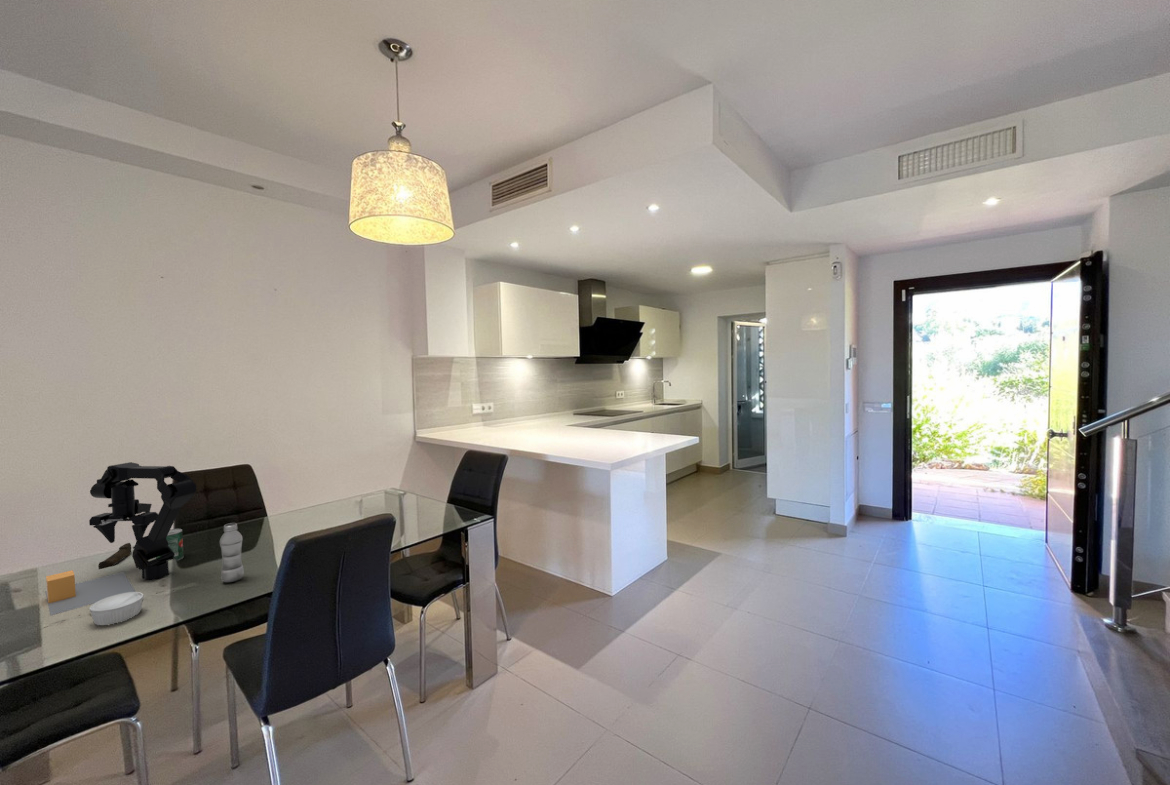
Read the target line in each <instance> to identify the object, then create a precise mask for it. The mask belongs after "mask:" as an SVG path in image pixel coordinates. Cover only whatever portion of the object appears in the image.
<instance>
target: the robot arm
mask: <svg viewBox="0 0 1170 785" xmlns="http://www.w3.org/2000/svg"><path fill="white" fill-rule="evenodd" d="M168 478H170V479H172V480H174V481H176V482H172V483H168V484H167V483H166V482H165V479H168ZM134 479H145V480H146V479H150V480H151V479H154V480H155V481H156V489H157V491H158V492H159V493H160V494H161V496H160V498H161V501H162V502H163V504H162V506H161V508H160V510H159V512H158V513H157V512H156V511H151V508H152V505H153V504H152V503H144V502H143V503H142V502H140V500H139V499H135V487H137V486H139V483H138V482H137V481H135V480H134ZM196 492H197V484H196V483H195V482H194V481H193V479H192V478H191V477H190V476H189V475H188V474H186V473H183V472H181V471H180V470H178V469H177V468H176V467H175V466H173V465H167V466H166V465H165V466H160V465H159V466H157V465H153V466H152V465H140V464H139V463H136V462H125V463H118V464H113V465H108V466H107V469H106V470H105V471H104V473H103V474H102V477H101V478H99V479H96V483H95V484H93V485H92V486H91V488H90V491H89V494H90V495H91V497H93V498H96V499H107V500H109V499H111V503H108V504H107V507H108V508H111V512H103V513H100V514H97V515H94V516H91V517H90V519H89V526H92V527H93V528H95V529H96V530H97V531H99V532H100V533H101V534H102V535H103V536H104V538H105V539H106V540H107V541H108V542H109V543H110V544H113V543H115V541H116V534H115V533H116V530H115V529H116V525H117V523H118V522H131V523H132V524H133V525H131V528H132V532H133V535H134V538H135V545H134V546H132V549H133V550H132V555H131V556H132V559H133V562H134V565H135V568H136V569H138V570H141V578H142V579H143V580H144V581H155V580H161V579H163V578H165V577H168V576H169V573H170V572H169V561H170V560H174V559H175V558H174V555H175V554H174V552H173V551H172V550H171V549H170V548H169V546H168V544H169V543H168V541H167V539H166V537H167V535H168V533H169V531H170V529H172V527H173V525H174V522H175V521H176V519H177V516H178V515H179V513H180V511H181V509H182V508H183V506H184V505H185V504H186V503H188V502H189V501H190V500H192V498H193V497H194V495H196ZM152 523H153V524H152ZM150 524H152V527H151V529H150V530H149V533H148V534H147V535H146V536H144V535H145V533H146V531H147V529H148V527H149V525H150ZM158 556H161V557H159V558H157V559H156V557H158Z"/></svg>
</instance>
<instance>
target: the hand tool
mask: <svg viewBox="0 0 1170 785" xmlns="http://www.w3.org/2000/svg"><path fill="white" fill-rule="evenodd" d="M131 553H132V544H131V543H130V542H127V543H124V544H123V545H121V546H120V547H118V550H117V551H116V552H114V553H113V554H112V555H110V556H109V557H107V558H106V559H105V560H103V561H100V562H99V563H98V570H102V569H107V568H110V567H115V565H117V564H118V563H119V562H121V561H122V560H123V559H125V558H128V557H129V556H130V555H131Z"/></svg>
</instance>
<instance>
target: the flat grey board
mask: <svg viewBox="0 0 1170 785" xmlns="http://www.w3.org/2000/svg"><path fill="white" fill-rule="evenodd" d="M75 591H76V596H75V597H71V598H67V599H64V600H60V601H56V602H52V603H48V598H47V590H46V591H45V592H44V593H45V597H46V601H47V606H48V612H49V615H50V616H55V615H58V614H61V613H65V612H69V611H72V610H75V609H80V608H83V607H87V606H89V605H90V606H91V605H93V604H94V603H96V602H98V601H100V600H102V599H105V598H107V597H110V596H114V595H118V594H122V593H128V592H137V591H136V590H135V588H134V586H133V585H132V582H130V580H129V578H128V577H127V576H126V574H125V572H124V571H121V572H116V573H113V574H110V575H109V574H108V575H105V576H101V577H97V578H93V579H90V580H85V581H82V582H78V583H75Z"/></svg>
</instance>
